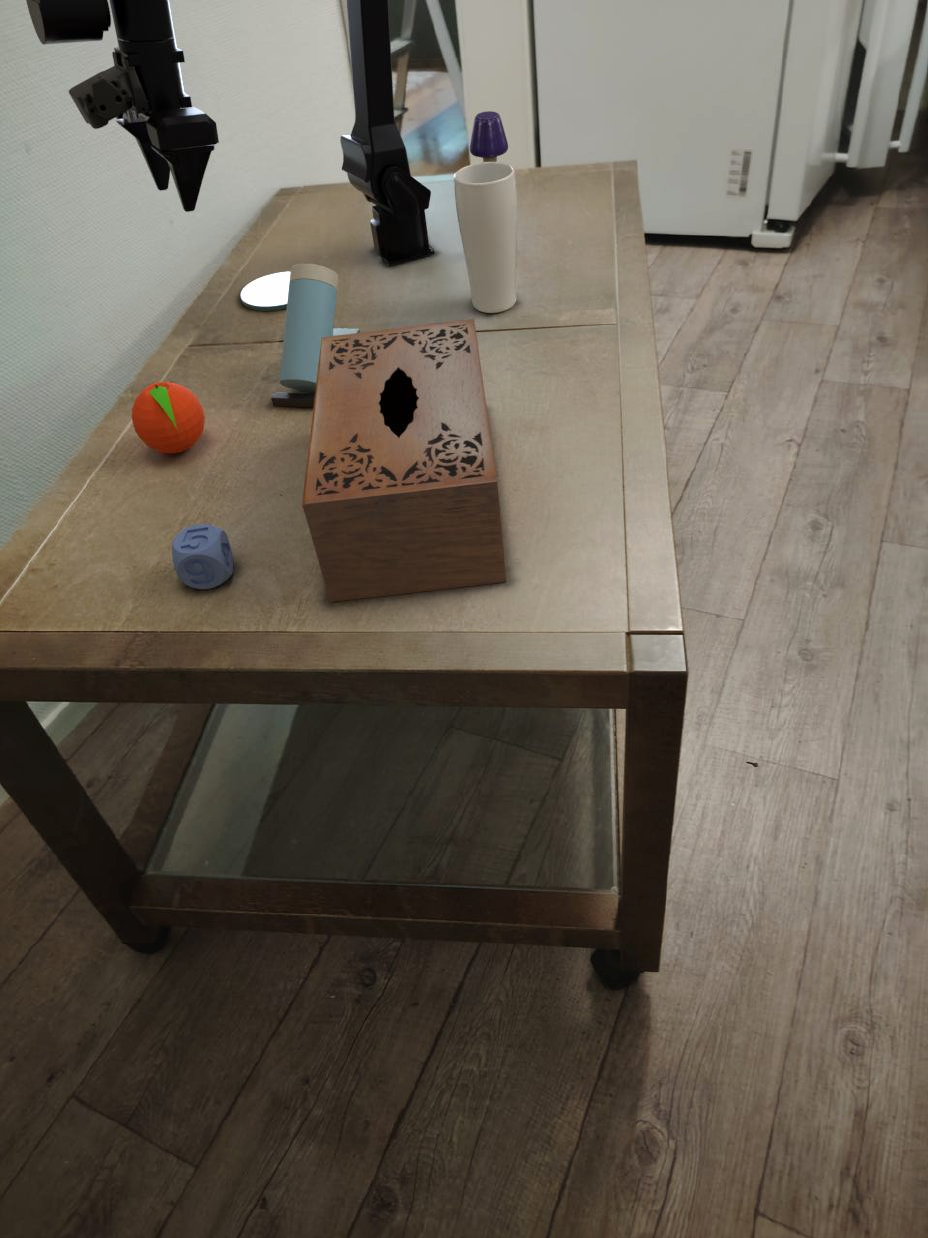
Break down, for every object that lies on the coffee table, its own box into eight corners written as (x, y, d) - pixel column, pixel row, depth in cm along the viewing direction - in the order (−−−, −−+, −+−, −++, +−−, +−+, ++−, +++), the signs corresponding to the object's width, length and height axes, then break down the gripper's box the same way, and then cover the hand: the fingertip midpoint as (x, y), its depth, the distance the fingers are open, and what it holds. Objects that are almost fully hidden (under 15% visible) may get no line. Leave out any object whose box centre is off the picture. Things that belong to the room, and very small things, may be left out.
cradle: (308, 355, 103) (301, 326, 100) (365, 357, 101) (359, 328, 98) (272, 405, 95) (264, 376, 93) (333, 408, 94) (326, 379, 91)
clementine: (225, 455, 89) (203, 393, 84) (158, 480, 88) (132, 418, 83) (202, 420, 95) (180, 359, 90) (138, 443, 93) (112, 382, 88)
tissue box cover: (506, 582, 72) (497, 481, 65) (330, 602, 73) (302, 504, 66) (483, 411, 90) (474, 318, 83) (342, 428, 91) (321, 337, 84)
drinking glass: (458, 315, 106) (443, 182, 95) (478, 289, 110) (466, 160, 100) (511, 320, 104) (502, 185, 93) (530, 293, 108) (524, 161, 97)
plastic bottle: (318, 353, 103) (295, 249, 95) (359, 354, 102) (339, 249, 93) (279, 408, 95) (249, 299, 86) (323, 410, 94) (297, 300, 85)
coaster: (306, 269, 120) (305, 264, 119) (327, 297, 113) (326, 292, 112) (234, 288, 118) (232, 283, 117) (250, 318, 111) (249, 313, 110)
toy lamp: (519, 248, 117) (512, 108, 106) (506, 263, 115) (496, 121, 103) (486, 245, 119) (475, 107, 107) (472, 260, 116) (459, 119, 105)
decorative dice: (234, 555, 78) (221, 519, 75) (231, 586, 75) (217, 549, 72) (189, 562, 78) (174, 527, 75) (184, 593, 75) (168, 557, 72)
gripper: (43, 29, 94) (82, 188, 104) (90, 58, 82) (128, 234, 92) (148, 23, 98) (175, 176, 109) (207, 49, 86) (231, 218, 97)
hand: (175, 199), depth 101 cm, fingers open, 9 cm apart
